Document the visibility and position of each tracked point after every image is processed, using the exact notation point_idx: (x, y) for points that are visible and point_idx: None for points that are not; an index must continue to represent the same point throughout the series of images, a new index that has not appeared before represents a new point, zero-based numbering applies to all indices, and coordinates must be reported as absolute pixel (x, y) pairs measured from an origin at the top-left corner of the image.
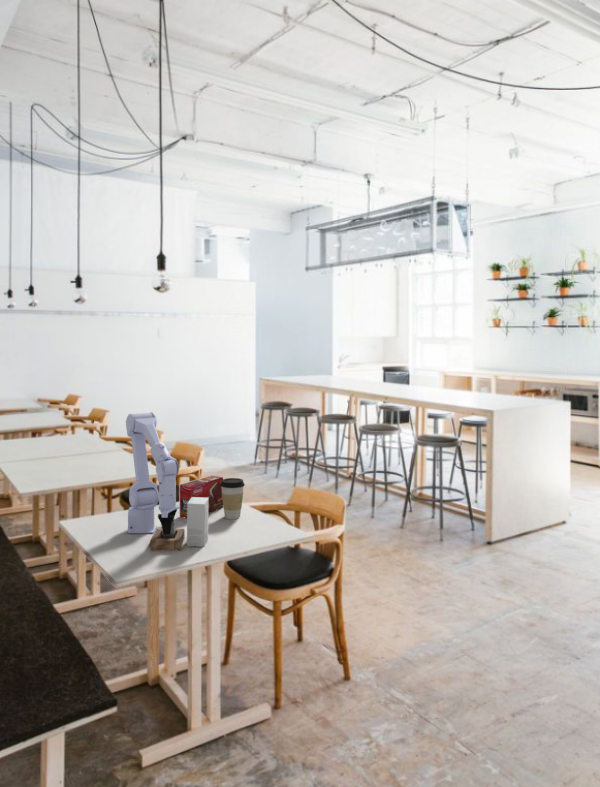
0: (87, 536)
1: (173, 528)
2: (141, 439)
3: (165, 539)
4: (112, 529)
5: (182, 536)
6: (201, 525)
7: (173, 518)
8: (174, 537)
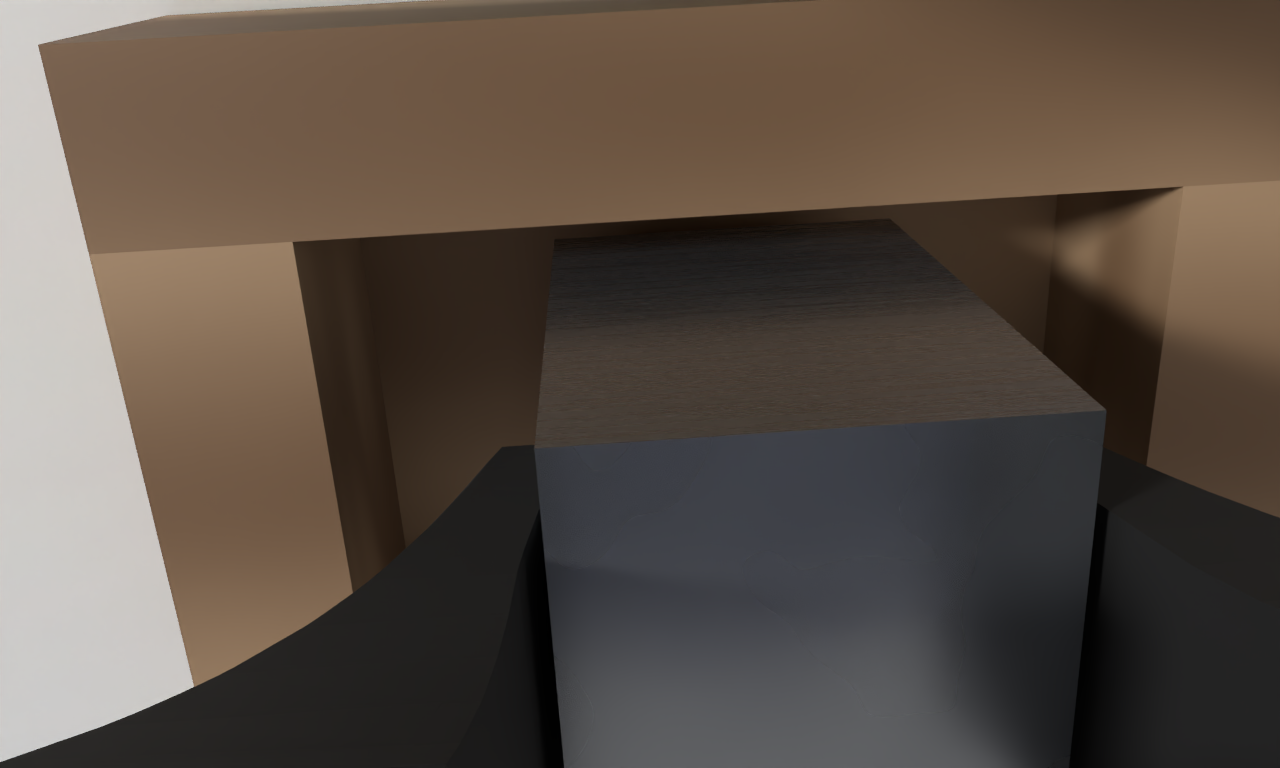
0: None
1: (1032, 370)
2: None
3: (1229, 446)
4: None
5: (665, 1)
6: None
7: (507, 630)
8: (770, 247)
